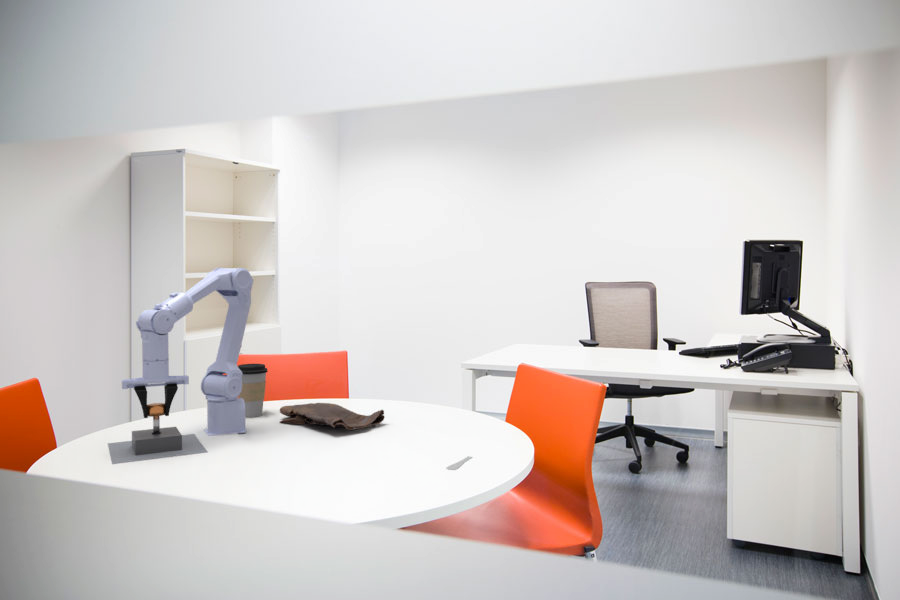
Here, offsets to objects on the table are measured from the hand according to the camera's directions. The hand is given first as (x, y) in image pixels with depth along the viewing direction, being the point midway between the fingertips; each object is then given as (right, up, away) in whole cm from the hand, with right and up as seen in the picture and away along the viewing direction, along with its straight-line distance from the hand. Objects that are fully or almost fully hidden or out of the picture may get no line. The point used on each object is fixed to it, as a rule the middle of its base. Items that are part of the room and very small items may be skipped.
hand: (156, 416), depth 157 cm
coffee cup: (+11, -7, +39) cm, 41 cm away
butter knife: (+75, -9, -4) cm, 76 cm away
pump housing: (0, -8, 0) cm, 8 cm away
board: (0, -8, 0) cm, 8 cm away
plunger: (0, -5, 0) cm, 5 cm away
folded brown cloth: (+36, -8, +30) cm, 47 cm away
